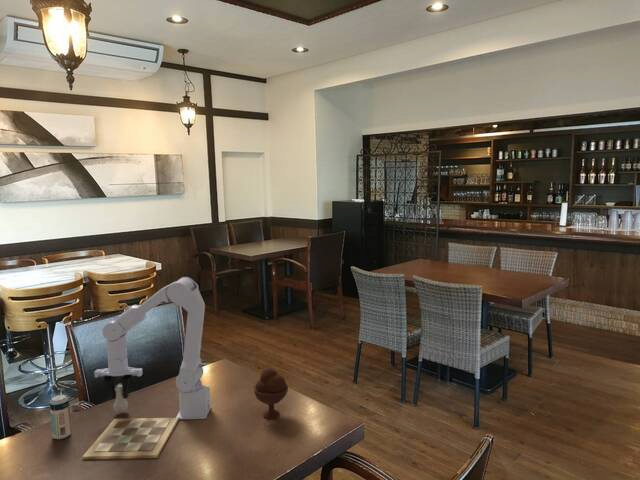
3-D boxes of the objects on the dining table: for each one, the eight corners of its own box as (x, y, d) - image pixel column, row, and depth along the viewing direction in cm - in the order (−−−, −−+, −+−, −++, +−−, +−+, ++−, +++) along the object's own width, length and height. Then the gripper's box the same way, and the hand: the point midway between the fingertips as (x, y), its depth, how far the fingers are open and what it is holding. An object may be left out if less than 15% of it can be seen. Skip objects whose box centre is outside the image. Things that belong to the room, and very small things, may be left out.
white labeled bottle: (74, 432, 136) (71, 393, 135) (64, 440, 131) (61, 401, 130) (59, 431, 136) (56, 393, 135) (48, 440, 132) (45, 400, 130)
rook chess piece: (131, 406, 148) (130, 383, 147) (121, 412, 144) (120, 388, 143) (120, 404, 150) (118, 381, 149) (110, 410, 145) (108, 387, 144)
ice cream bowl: (247, 420, 142) (246, 374, 140) (265, 404, 152) (264, 361, 150) (278, 426, 138) (277, 379, 136) (293, 410, 148) (293, 366, 146)
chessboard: (178, 420, 142) (178, 417, 142) (157, 457, 123) (157, 454, 122) (114, 421, 142) (114, 418, 142) (82, 459, 122) (82, 455, 122)
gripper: (144, 351, 149) (147, 391, 150) (100, 352, 149) (103, 392, 150) (136, 360, 142) (139, 401, 143) (90, 360, 142) (93, 402, 143)
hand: (120, 397), depth 146 cm, fingers closed on rook chess piece, 3 cm apart
